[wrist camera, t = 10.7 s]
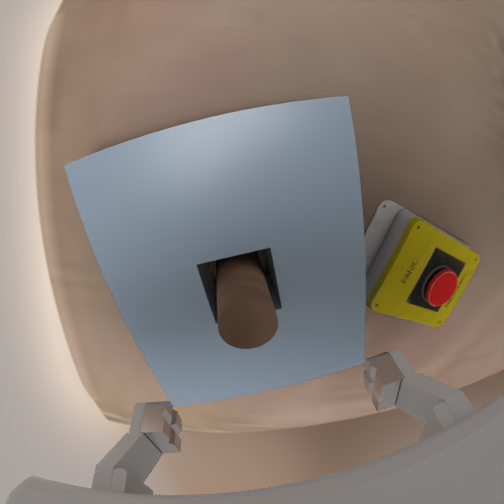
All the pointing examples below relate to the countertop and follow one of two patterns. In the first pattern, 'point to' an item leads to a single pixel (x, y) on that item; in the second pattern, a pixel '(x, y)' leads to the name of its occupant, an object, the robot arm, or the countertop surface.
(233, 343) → the peg
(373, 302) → the emergency button
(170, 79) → the countertop surface
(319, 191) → the socket block
